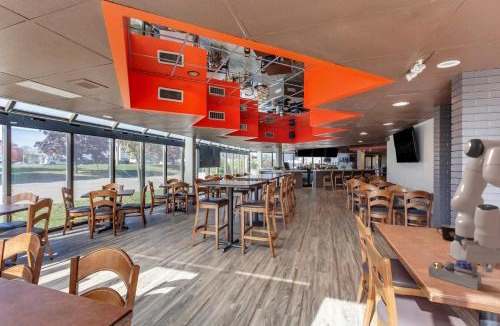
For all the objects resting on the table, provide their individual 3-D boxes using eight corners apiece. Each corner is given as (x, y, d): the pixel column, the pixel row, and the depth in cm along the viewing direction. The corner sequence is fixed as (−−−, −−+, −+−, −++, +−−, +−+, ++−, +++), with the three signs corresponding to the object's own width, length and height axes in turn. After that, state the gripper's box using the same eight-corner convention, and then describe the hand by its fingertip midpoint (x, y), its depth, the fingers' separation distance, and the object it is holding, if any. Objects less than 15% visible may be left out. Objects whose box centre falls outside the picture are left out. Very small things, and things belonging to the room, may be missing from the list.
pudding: (462, 266, 134) (462, 256, 134) (486, 276, 122) (486, 266, 122) (443, 267, 132) (443, 258, 132) (465, 278, 120) (465, 267, 120)
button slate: (447, 268, 122) (447, 261, 122) (454, 270, 119) (454, 263, 119) (445, 270, 120) (445, 263, 120) (453, 272, 117) (453, 265, 117)
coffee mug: (454, 239, 180) (455, 225, 180) (457, 242, 173) (457, 228, 173) (435, 236, 186) (435, 223, 186) (436, 239, 179) (436, 226, 179)
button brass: (436, 268, 125) (436, 261, 125) (443, 270, 123) (443, 263, 123) (434, 269, 123) (434, 263, 123) (441, 272, 121) (441, 264, 121)
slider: (473, 273, 114) (473, 262, 114) (477, 274, 113) (477, 263, 113) (472, 275, 112) (472, 264, 112) (476, 276, 111) (476, 265, 111)
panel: (434, 270, 128) (434, 261, 128) (481, 283, 114) (481, 273, 114) (428, 275, 122) (428, 266, 122) (477, 290, 108) (477, 279, 108)
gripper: (467, 242, 107) (467, 273, 107) (519, 244, 105) (519, 276, 105) (457, 238, 114) (457, 267, 114) (505, 239, 111) (505, 269, 111)
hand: (487, 271), depth 109 cm, fingers closed
